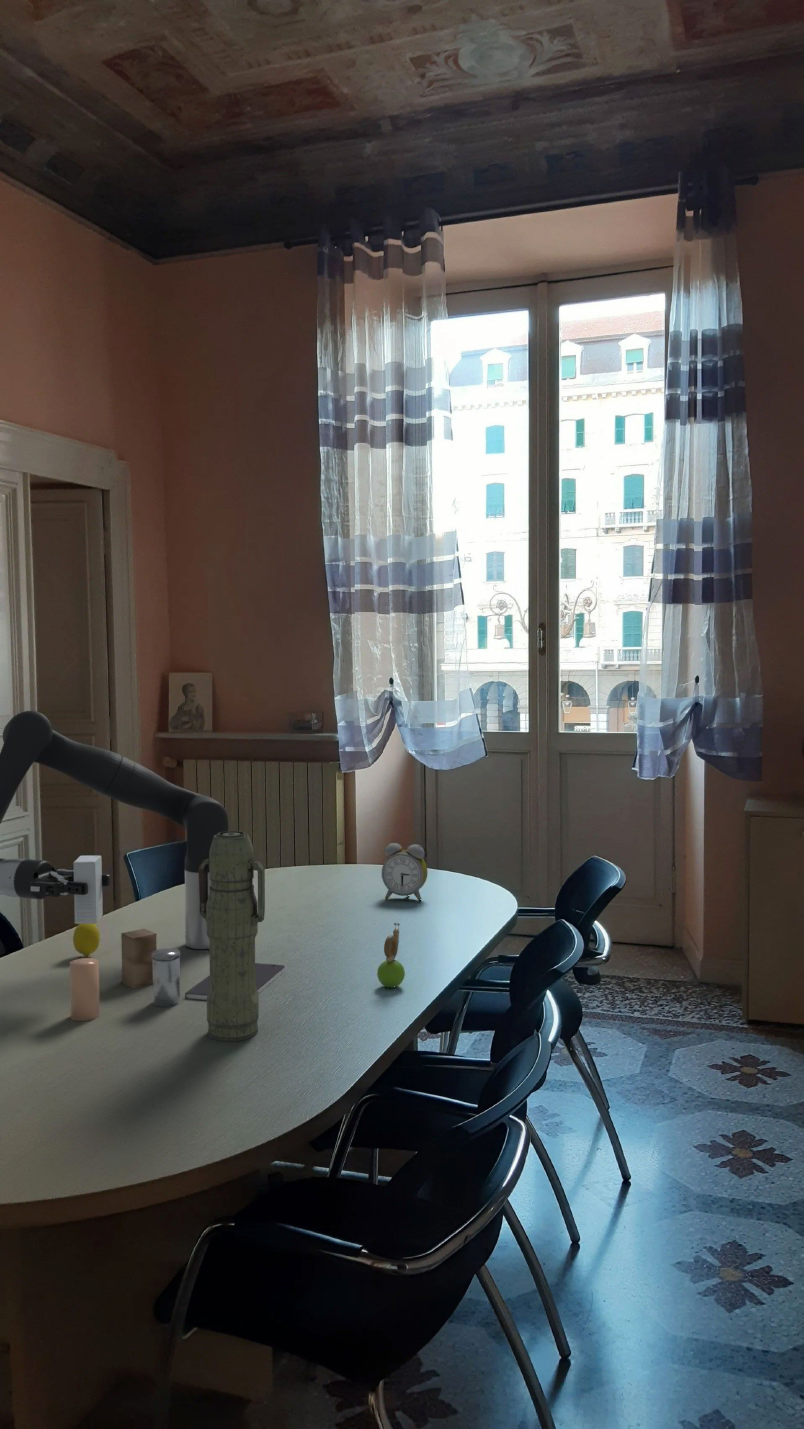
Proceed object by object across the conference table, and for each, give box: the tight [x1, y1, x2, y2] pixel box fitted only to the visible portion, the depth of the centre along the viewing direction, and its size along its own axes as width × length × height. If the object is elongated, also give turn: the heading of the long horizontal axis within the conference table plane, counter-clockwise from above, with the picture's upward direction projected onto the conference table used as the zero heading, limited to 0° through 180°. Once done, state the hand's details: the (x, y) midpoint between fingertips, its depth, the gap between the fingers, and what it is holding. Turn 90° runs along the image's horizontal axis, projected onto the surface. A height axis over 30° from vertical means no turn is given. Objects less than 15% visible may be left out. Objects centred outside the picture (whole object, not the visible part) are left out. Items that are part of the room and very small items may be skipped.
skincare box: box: [73, 855, 104, 925], centre depth 203 cm, size 6×4×12 cm
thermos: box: [198, 830, 266, 1043], centre depth 183 cm, size 9×12×35 cm
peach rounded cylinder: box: [69, 957, 100, 1022], centre depth 192 cm, size 5×5×10 cm
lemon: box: [72, 923, 101, 958], centre depth 229 cm, size 6×6×8 cm
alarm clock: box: [381, 842, 428, 901], centre depth 281 cm, size 12×7×15 cm, turn 73°
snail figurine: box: [376, 922, 406, 988], centre depth 209 cm, size 5×6×12 cm
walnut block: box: [120, 928, 158, 989], centre depth 211 cm, size 5×5×10 cm
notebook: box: [184, 962, 285, 1001], centre depth 211 cm, size 13×2×21 cm
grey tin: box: [152, 948, 181, 1008], centre depth 199 cm, size 5×5×10 cm
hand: (98, 884), depth 202 cm, fingers closed on skincare box, 7 cm apart
